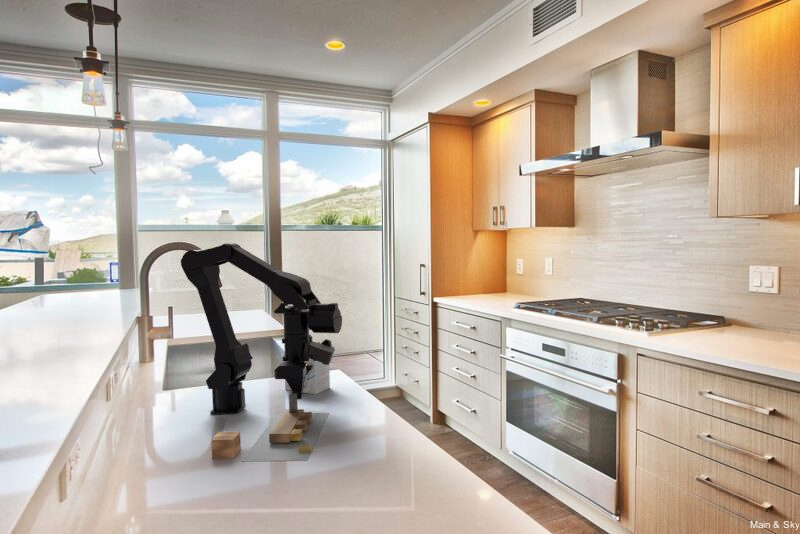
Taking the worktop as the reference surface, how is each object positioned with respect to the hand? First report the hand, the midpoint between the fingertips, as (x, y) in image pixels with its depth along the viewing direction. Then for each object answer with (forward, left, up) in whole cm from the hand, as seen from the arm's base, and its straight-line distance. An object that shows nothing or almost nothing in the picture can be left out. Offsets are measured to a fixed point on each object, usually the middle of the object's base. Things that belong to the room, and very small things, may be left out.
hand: (298, 398), depth 117 cm
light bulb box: (-2, +20, -4) cm, 20 cm away
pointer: (+6, -22, -3) cm, 23 cm away
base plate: (+1, -13, -4) cm, 14 cm away
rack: (+1, -11, -3) cm, 12 cm away
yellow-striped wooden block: (-9, -22, -4) cm, 24 cm away
